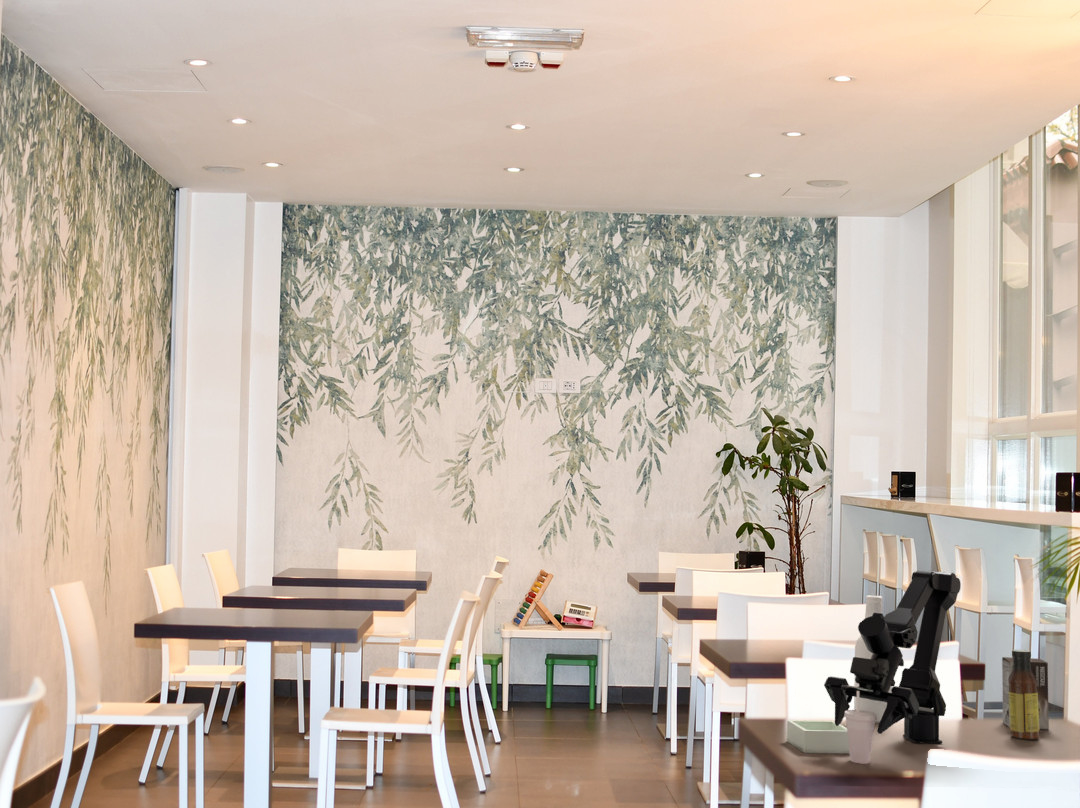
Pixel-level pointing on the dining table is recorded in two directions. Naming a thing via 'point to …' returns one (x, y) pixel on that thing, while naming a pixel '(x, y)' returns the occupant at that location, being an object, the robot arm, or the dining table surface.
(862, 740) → the smoothie
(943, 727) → the dining table surface
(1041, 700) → the coffee box
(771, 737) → the dining table surface
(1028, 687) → the sauce bottle
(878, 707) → the alcohol
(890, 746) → the dining table surface
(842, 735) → the bin
